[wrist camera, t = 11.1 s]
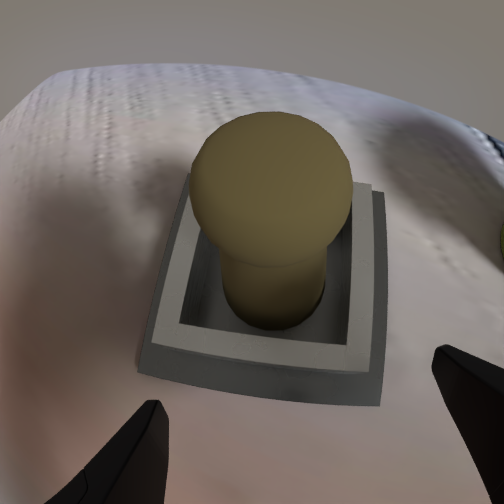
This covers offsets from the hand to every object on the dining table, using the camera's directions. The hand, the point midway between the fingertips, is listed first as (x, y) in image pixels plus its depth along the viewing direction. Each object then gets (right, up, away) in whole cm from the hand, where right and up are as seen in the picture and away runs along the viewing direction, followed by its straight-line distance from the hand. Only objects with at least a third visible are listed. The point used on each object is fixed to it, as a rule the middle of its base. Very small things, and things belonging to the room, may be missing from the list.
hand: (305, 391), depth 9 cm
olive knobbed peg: (0, +3, +10) cm, 10 cm away
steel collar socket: (0, +3, +10) cm, 11 cm away
